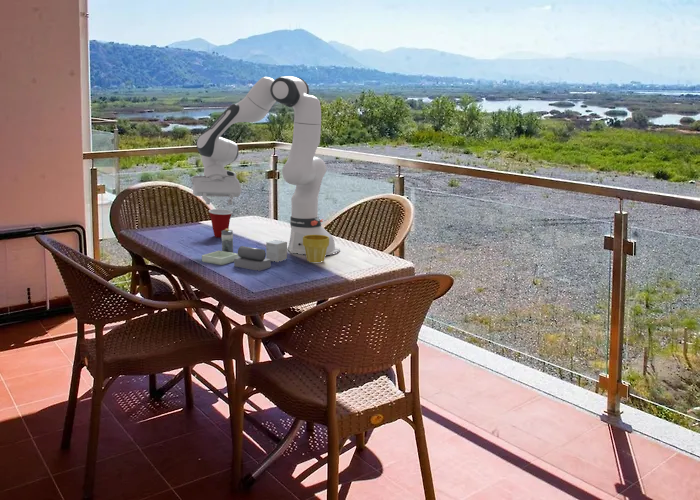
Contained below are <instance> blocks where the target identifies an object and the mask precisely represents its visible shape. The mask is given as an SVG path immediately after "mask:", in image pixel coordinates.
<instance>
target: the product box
mask: <svg viewBox="0 0 700 500" xmlns="http://www.w3.org/2000/svg"><path fill="white" fill-rule="evenodd" d="M265 245H266V246H265V247H266V248H265V249H266V250H265V252H266V257H265V258H266V259H271V262H274V261H275V263H280V262H283V260H284V261H286V260H285V259H287V260H288V242H287V241H283V240H280V239H279V240H278V239H273V240H269V241H266V242H265ZM279 261H280V262H279Z"/></svg>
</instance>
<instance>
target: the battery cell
mask: <svg viewBox="0 0 700 500" xmlns="http://www.w3.org/2000/svg"><path fill="white" fill-rule="evenodd" d="M233 233H234V232H233V230H232V229H225V230H222V238H221V251H225V252H231V253H234V234H233Z"/></svg>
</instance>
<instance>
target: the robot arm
mask: <svg viewBox="0 0 700 500" xmlns="http://www.w3.org/2000/svg"><path fill="white" fill-rule="evenodd" d="M276 102H277V103H279V104H281V105H284V106H286V107H288V108H292V109H293V111H294V112H293V114H294V115H293V117H294V118H293V133H292V143H291V147H290V151H289V154H288V156H287V157H288V158H287V160H286V162H285V164H284V165H283V167H282V169H281V170H282V171H281V176H282V178H283V180H284V181H285V182H286V183H287V184H289V185H293V186H296V187H295V189H294V193H293V194H292V197H291V199H290V200H291V201H290V202H291V204H290V205H291V208H290V209H291V210H290V211H291V216H290V221H289V223H290V236H289V243H288V245H287V251H289V253H290V254H293V253H298V254H297V255H303V254H306V252H305V246H303V237H304V236H306V235H325V236H328V237H329V246H328V247H327V250H326V254H325V255H330V254H333V253H336V252H339V251H340V252H341V249H340V248H339V247H336V246H335V245H336V244H335V239H334V236H333V235H332V234H331V233H330V232H328V231H327V230H326V229H325V228H324V227H323V226H322V223H323V222H324V221H323V220H324V219H323V218H322V219H320V217H319V213H318V212H319V195H320V189H321V185H322V181H323V178H324V177H325V175H326V172H327V164H326V163H325V161H324V160H323V159H322V158H321V157H317V156H315V155H316V153H317V152H316V151H317V149H318V147H319V146H320V143H321V131H322V128H321V127H322V108H321V102H320V100H319V98H317V97H316V96H314V95H311V94H310V88H309V84H308V83H307V82H306V81H305V80H304V79H302V78H301V77H296V76H293V75H285V76H284V75H283V76H278V77H277V78H275V79H273V78H272V77H269V76H263V77H261V78H260V79H258V81H256V82H255V83H254V84H253V86H252V87H251V88H250V90H249V91H248V92H247V94H246V95H245V97H243V98H242V99H241V100H240V101H238V102H236V103H232V104H231V105H230V106H228V108H226V109H225V110H224V112H222V114H221V115H220V116H218V118H217V119H216V120H215V121H214V122H213V123H212V124H211V126H209V127H208V128H207V129H206V130H205V131H204V132H202V133H201V134H200V135H199V137H198V138H197V139H196V140H197V141H196V149H197V152H199V154H200V156H201V161H202V162H201V163H202V165H203V173H204V174H203V175H194V176H192V177H191V179H190V180H191V184H192V194H193V195H194V197H201V198H202V199H203V200H204V201H205V204H206V205H211V199H210V198H208V197H220V198H221V197H222V198H223V197H225V198H227V197H228V198H229V199H228V200H227V204H228V205H227V206H232V205H233V200H234V199H233V198H239V197H240V196H241V194H242V187H241V183H240V180H239V179H238V178H237V176H238V175H237V173H236V172H235V171H231V170H228V169H225V167H227V166H228V165H230V164H232V163H234V162H235V161H236V160H237V159H238V157H239V152H240V151H239V146H238V144H237V143H236V142H234V140H230V139H228V138H225V137H222V135H223V134H224V133H225V132H226V131H227V130H228V129H229V128H230V127H231V126H232V125H235V124H236V123H237V124H238V123H256V122H260V121H262V120H263V119H264V118H265V117H266V115H268V113H269V111H270V110H271V108H272V107H273V106H274V104H275V103H276ZM340 252H339V253H340ZM336 254H337V253H336ZM330 256H331V255H330Z"/></svg>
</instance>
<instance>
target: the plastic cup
mask: <svg viewBox="0 0 700 500" xmlns="http://www.w3.org/2000/svg"><path fill="white" fill-rule="evenodd" d="M208 213H209V216H210V221H211V226H212V231H213V236H214V237H215V238H221V239H222V230H225V229H229V228H230V220H231V217H232V214H233V213H234V212H233V211H232V210H230V209H229V210H228V209H223V208H221V209H220V208H217V209H216V208H214V209H213V208H212V209H209V210H208ZM229 230H230V229H229Z"/></svg>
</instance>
